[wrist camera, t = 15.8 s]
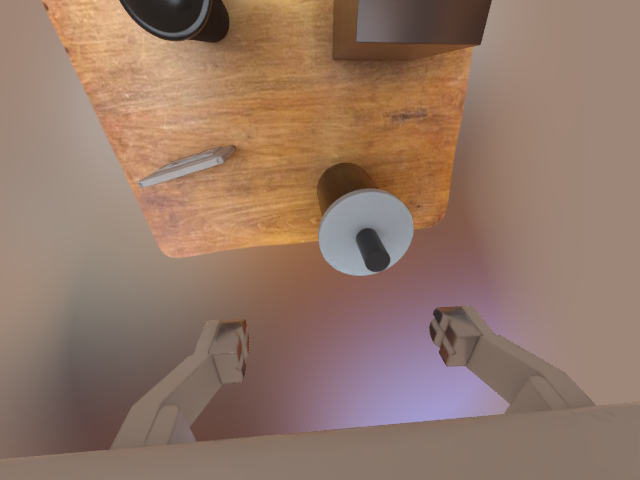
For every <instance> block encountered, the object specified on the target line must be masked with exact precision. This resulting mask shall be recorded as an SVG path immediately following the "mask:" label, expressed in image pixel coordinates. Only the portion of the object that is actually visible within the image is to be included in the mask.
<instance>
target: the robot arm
mask: <svg viewBox="0 0 640 480" xmlns="http://www.w3.org/2000/svg"><path fill="white" fill-rule="evenodd" d="M433 315H434V317H435V318H434V319H433V320H432V321H431V323H430V326H429V329H430V335H431V338H432V341H433V343H434V344H435V345H437V346H438V347H440V350H439V354H440V355H441V357H442V359H443V361H444V363H445V364H446V366H466V367H467V368H468V369H470V370H471V371H472V372H473V373H474V374H475V375H477V376H478V377H479V378H480V379H481V380H483V381H484V382H485V383H486V384H487V385H488V386H490V387H491V388H492V389H493V390H494V391H496V392H497V393H498V394H499V395H500V396H501V397H503V398H504V399H505V400H506V401H507V402H508V403H510V406H509V407H508V409H507V410H506V412H505V414H500V415H489V416H478V417H468V418H456V419H445V420H434V421H423V422H412V423H400V424H389V425H379V426H368V427H356V428H345V429H335V430H324V431H313V432H301V433H290V434H280V435H269V436H257V437H246V438H236V439H225V440H214V441H203V442H196V440H195V438H194V436H193V434H192V432H191V430H190V428H189V427H190V426H191V425H192V423H193V422H194V421H195V419H196V418H197V417H198V415H199V414H200V413H201V412H202V410H203V409H204V407H205V406H206V405H207V404H208V402H209V401H210V400H211V398H212V397H213V396H214V395H215V393H216V392H217V390H218V389H219V388H220V387H221V384H226V383H236V382H243V381H244V376H245V370H246V363H245V359H246V358H247V357H248V353H249V334H248V332H247V331H246V327H247V324H246V320H245V319H234V320H233V319H231V320H209V321H207V322H206V323H205V325H204V328H203V330H202V333H201V335H200V338H199V341H198V343H197V346H196V349H195V351H194V354H193V355H190V356H188V357H187V358H186V359H185V360H184V361H182V362H181V363H180V364H179V365H178V366H177V367H176V368H175V369H173V370H172V371H171V372H170V373H169V374H168V375H167V376H166V377H164V378H163V379H162V380H161V381H160V382H159V383H158V384H157V385H156V386H154V387H153V388H152V389H151V390H150V391H149V392H148V393H147V394H146V395H144V396H143V397H142V398H141V399H140V400H139V401H138V402H137V403H135V405H133V406H132V407H131V409H130V411H129V413H128V415H127V417H126V419H125V421H124V423H123V425H122V427H121V429H120V430H119V433H118V435H117V436H116V438H115V440H114V442H113V444H112V446H111V448H110V450H101V451H91V452H79V453H68V454H57V455H46V456H36V457H35V456H34V457H24V458H12V459H0V480H640V402H633V403H622V404H611V405H600V406H596V405H595V403H594V402H593V401H592V400H591V399H590V398H589V397H588V396H587V395H586V394H585V393H584V392H583V391H582V390H581V389H580V388H579V387H578V386H577V384H576V383H575V382H574V381H573V380H572V379H571V378H570V377H569V376H568V375H567V374H566V373H565V372H563V371H561V370H560V369H558V368H556V367H554V366H553V365H551V364H549V363H547V362H545V361H544V360H542V359H541V358H539V357H537V356H535V355H534V354H532V353H530V352H528V351H527V350H525V349H523V348H521V347H520V346H518V345H516V344H514V343H513V342H511V341H509V340H507V339H506V338H504V337H502V336H501V335H496V334H495V333H494V332H493V331H492V330H491V328H490V327H489V326H488V325H487V324H486V322H485V321H484V320H483V319H482V318H481V316H480V315H479V314H478V313H477V311H476V310H475V309H474V308H473V307H472V306H459V307H458V306H455V307H441V308H436V309H435V310H434V312H433Z"/></svg>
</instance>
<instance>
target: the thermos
mask: <svg viewBox="0 0 640 480" xmlns="http://www.w3.org/2000/svg"><path fill="white" fill-rule="evenodd" d="M368 188H370V189H379V188H378V187H377V186H376V185H375V183H374V182H373V181H372V180H371V178H370V177H369V176H368V175H367V174H366V172H365V171H364V170H363V169H362V168H360V167H359V166H357V165H355V164H352V163H340V164H336V165H334V166H332V167H330V168H329V169H327V170H326V171H325V172H324V173H323V175H322V176H321V178H320V180H319V182H318V186H317V195H318V200H319V205H320V210H321V214H322V217H323V215H324V213H325V212H326V211H327V209H328V208H329V207H330V206H331V205H332V204H333V203H334V202H335V201H336V200H337V199H339V198H340V197H342V196H343V195H345V194H348V193H350V192H353V191H355V190H360V189H368Z"/></svg>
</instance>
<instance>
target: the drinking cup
mask: <svg viewBox="0 0 640 480" xmlns="http://www.w3.org/2000/svg"><path fill="white" fill-rule="evenodd" d="M119 1H120V2H121V4H122V6H123V7H124V9H125V10H126V11H127V13H128V14H129V15H130V16H131V18H132V19H133V20H134V21H135V22H136V23H137V24H138V25H139V26H140V27H142V28H143V29H144V30H146V31H147V32H149V33H150V34H152V35H154V36H156V37H159V38H161V39H164V40H169V41H184V40H187V39H188V40H196V41H205V42H218V41H220V40H222V39H223V38H224V37H225V36H226V34H227V32H228V29H229V17H228V13H227V10H226V8H225V6H224V4H223V2H222V0H119Z"/></svg>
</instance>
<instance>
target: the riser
mask: <svg viewBox="0 0 640 480" xmlns="http://www.w3.org/2000/svg"><path fill="white" fill-rule="evenodd" d="M491 1H492V0H334V16H333V58H332V59H340V60H415V59H419V58H424V57H428V56H433V55H437V54H442V53H446V52H451V51H455V50H459V49H464V48H468V47H473V46H477V45H480V44H481V41H482V37H483V33H484V29H485V25H486V21H487V17H488V13H489V9H490V5H491Z"/></svg>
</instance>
